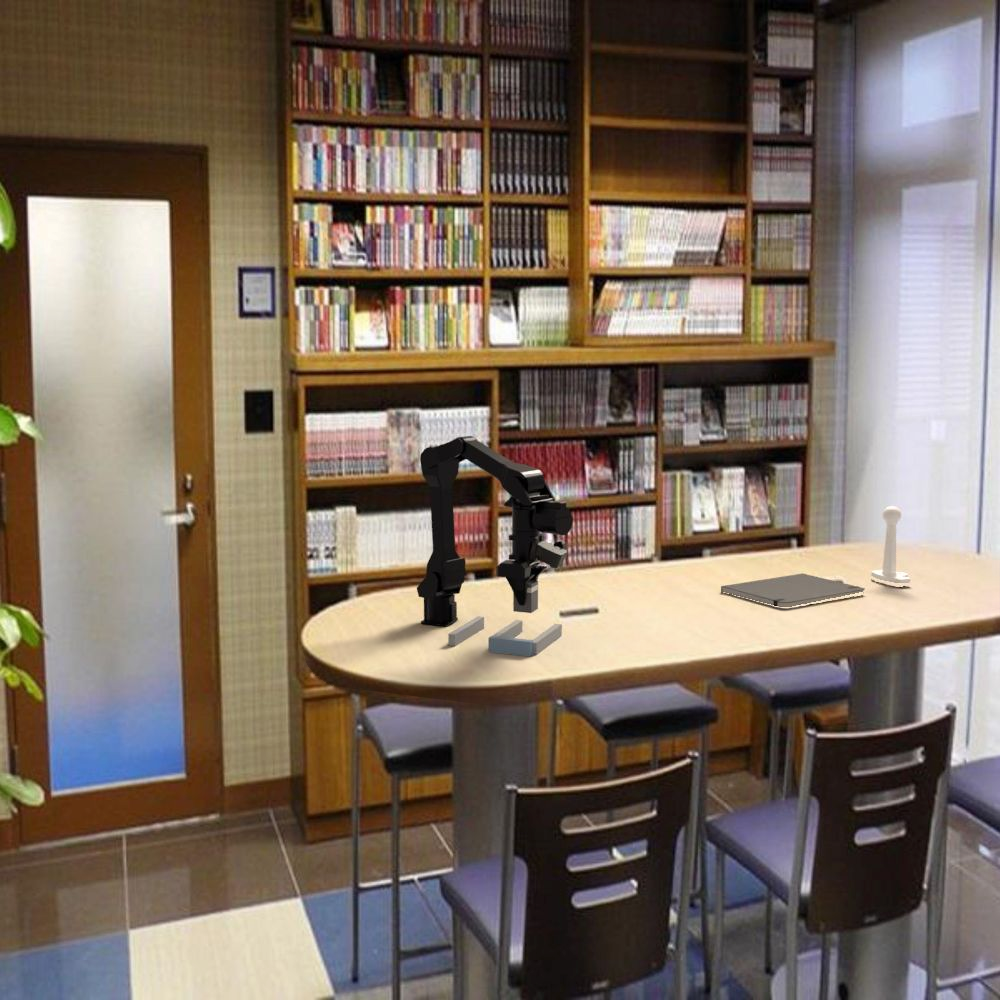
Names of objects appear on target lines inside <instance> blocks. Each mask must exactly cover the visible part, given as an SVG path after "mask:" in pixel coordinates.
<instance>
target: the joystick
mask: <svg viewBox="0 0 1000 1000" xmlns="http://www.w3.org/2000/svg"><path fill="white" fill-rule="evenodd" d="M882 518H883V519H884V521H885V523H886V529H885V542H884V550H883V559H882V560H883V561H882V569H877V570H871V572H870V577H871V576H873V577H875V578H877V579H880V580H884V581H889V582H894V583H909V582H910V583H911V579H912V578H911V577H908V575H909V574H908V573H906V572H899V571H897V524H898V522H899V521H900V520H901V518H902V511H901V510H900V508H898V507H897V506H894V505H891V506H887V507H886V508H884V510H883V512H882Z"/></svg>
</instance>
